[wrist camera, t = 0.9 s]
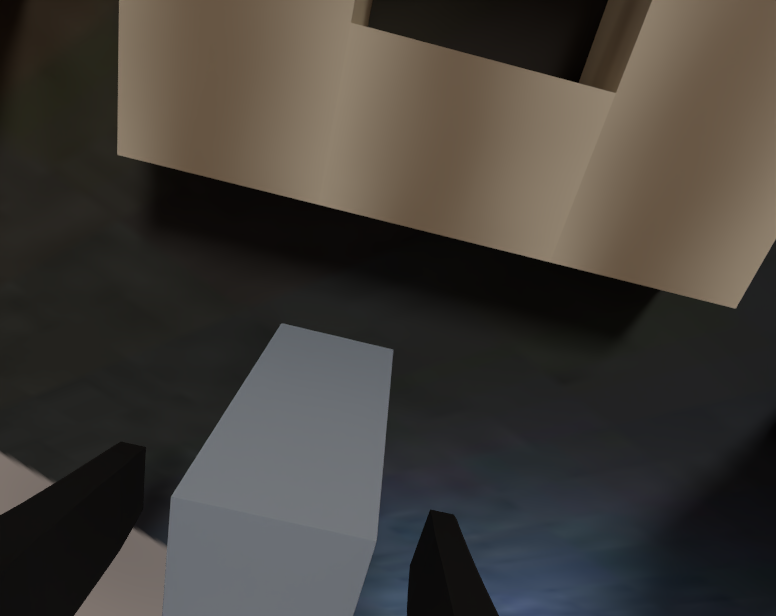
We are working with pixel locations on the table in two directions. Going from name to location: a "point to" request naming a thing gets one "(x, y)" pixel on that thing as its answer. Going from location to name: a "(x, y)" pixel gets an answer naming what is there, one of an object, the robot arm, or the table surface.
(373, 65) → the socket plate
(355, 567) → the peg
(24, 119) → the table surface
